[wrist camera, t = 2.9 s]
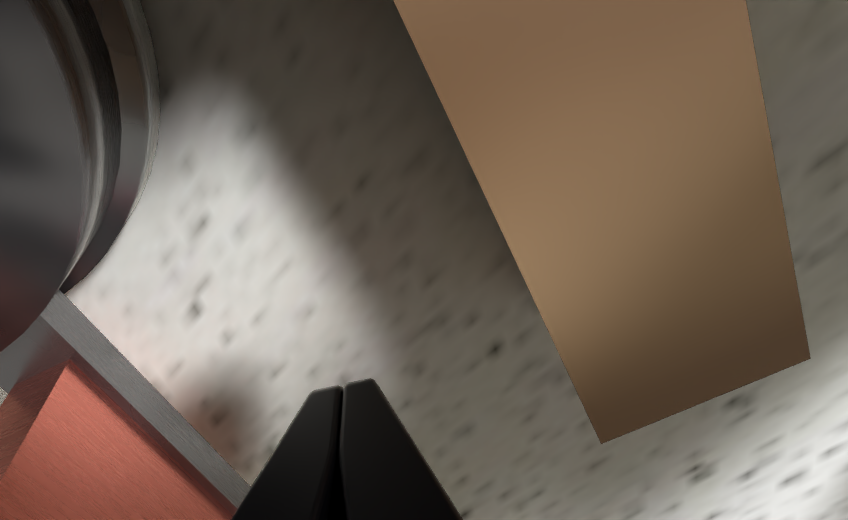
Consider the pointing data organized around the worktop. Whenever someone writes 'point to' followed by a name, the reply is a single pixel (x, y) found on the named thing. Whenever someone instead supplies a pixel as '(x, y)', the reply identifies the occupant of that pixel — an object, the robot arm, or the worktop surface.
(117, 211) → the disc
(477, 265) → the worktop surface
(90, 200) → the handwheel
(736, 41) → the brown rectangular bar
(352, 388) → the robot arm
